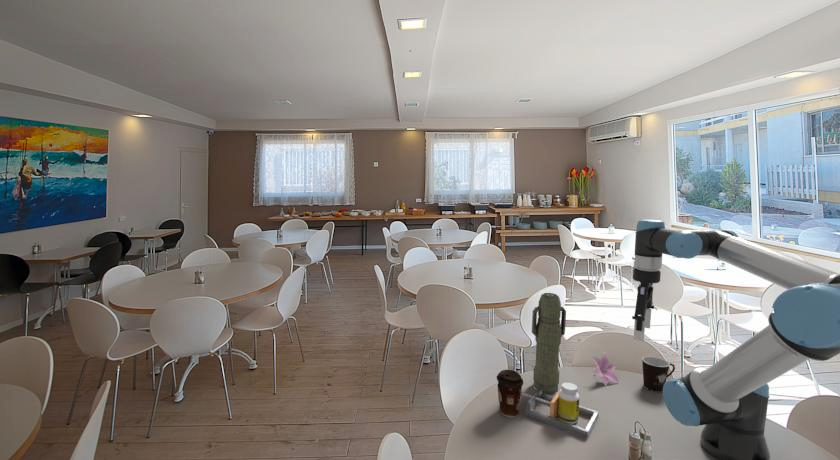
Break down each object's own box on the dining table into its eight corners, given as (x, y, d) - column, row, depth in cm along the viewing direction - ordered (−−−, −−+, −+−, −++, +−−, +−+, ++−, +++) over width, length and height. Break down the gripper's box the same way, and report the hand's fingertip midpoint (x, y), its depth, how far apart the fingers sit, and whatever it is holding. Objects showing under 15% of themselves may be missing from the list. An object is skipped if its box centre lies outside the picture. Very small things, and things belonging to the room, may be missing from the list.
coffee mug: (643, 391, 141) (645, 365, 140) (637, 379, 149) (639, 355, 148) (680, 396, 137) (682, 369, 136) (672, 384, 146) (674, 359, 144)
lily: (586, 387, 145) (600, 371, 140) (577, 362, 155) (590, 346, 151) (615, 396, 146) (630, 380, 142) (604, 370, 156) (618, 355, 152)
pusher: (563, 407, 130) (563, 389, 129) (552, 421, 122) (553, 402, 121) (525, 394, 138) (526, 377, 137) (514, 406, 130) (514, 389, 129)
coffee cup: (491, 414, 126) (492, 376, 124) (499, 402, 133) (500, 366, 131) (518, 422, 122) (520, 383, 120) (524, 409, 129) (526, 372, 127)
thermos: (525, 382, 146) (528, 292, 142) (553, 379, 149) (558, 290, 144) (536, 395, 138) (540, 299, 133) (566, 391, 140) (572, 297, 136)
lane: (598, 417, 125) (599, 405, 124) (587, 438, 114) (588, 425, 114) (540, 397, 136) (540, 386, 135) (525, 414, 126) (526, 403, 125)
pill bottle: (579, 426, 120) (581, 392, 119) (558, 423, 121) (560, 389, 120) (576, 414, 126) (578, 382, 125) (556, 412, 127) (558, 380, 126)
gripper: (639, 261, 135) (635, 320, 137) (626, 274, 115) (621, 342, 117) (665, 264, 130) (660, 325, 133) (655, 277, 110) (650, 349, 113)
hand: (641, 333), depth 125 cm, fingers open, 13 cm apart
